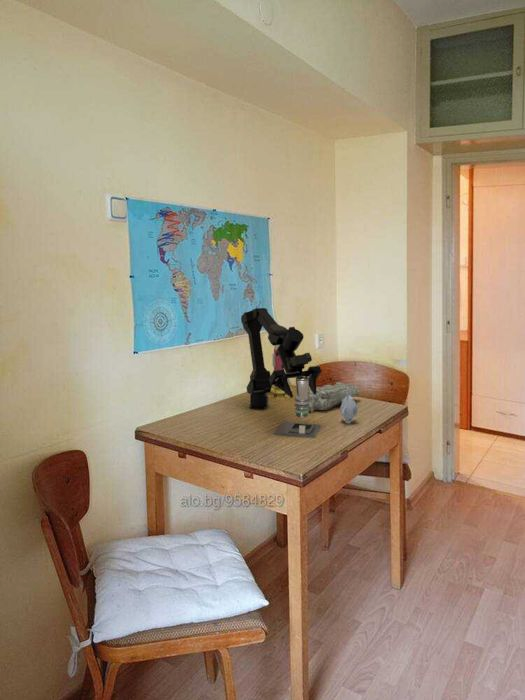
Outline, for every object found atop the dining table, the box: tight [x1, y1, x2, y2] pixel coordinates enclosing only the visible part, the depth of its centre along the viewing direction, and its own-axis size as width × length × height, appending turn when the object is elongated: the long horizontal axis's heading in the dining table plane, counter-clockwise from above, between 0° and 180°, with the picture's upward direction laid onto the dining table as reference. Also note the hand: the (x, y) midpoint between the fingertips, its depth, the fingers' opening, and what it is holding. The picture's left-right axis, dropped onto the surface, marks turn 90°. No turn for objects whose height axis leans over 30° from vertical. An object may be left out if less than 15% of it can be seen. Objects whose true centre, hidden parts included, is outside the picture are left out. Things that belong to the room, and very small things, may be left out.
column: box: [294, 377, 310, 418], centre depth 184 cm, size 5×5×13 cm
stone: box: [308, 381, 361, 413], centre depth 218 cm, size 12×10×30 cm
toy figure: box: [339, 390, 358, 425], centre depth 196 cm, size 11×6×12 cm, turn 144°
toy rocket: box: [267, 345, 293, 400], centre depth 233 cm, size 12×12×30 cm
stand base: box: [274, 421, 322, 439], centre depth 187 cm, size 14×12×4 cm
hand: (303, 395), depth 182 cm, fingers open, 9 cm apart
